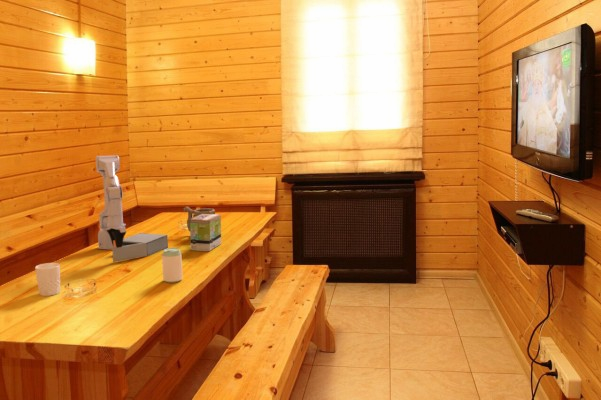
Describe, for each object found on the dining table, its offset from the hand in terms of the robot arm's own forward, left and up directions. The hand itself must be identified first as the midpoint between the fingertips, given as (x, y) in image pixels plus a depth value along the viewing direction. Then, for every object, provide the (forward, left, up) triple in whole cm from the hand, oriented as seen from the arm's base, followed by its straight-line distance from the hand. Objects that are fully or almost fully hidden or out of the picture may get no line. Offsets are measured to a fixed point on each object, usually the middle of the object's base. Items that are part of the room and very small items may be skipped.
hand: (117, 246), depth 237 cm
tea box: (+24, +34, -7) cm, 42 cm away
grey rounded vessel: (+10, +53, -7) cm, 54 cm away
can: (+37, -16, -7) cm, 40 cm away
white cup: (+3, -42, -7) cm, 43 cm away
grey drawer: (+3, +5, -6) cm, 8 cm away
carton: (-1, +20, -7) cm, 21 cm away
